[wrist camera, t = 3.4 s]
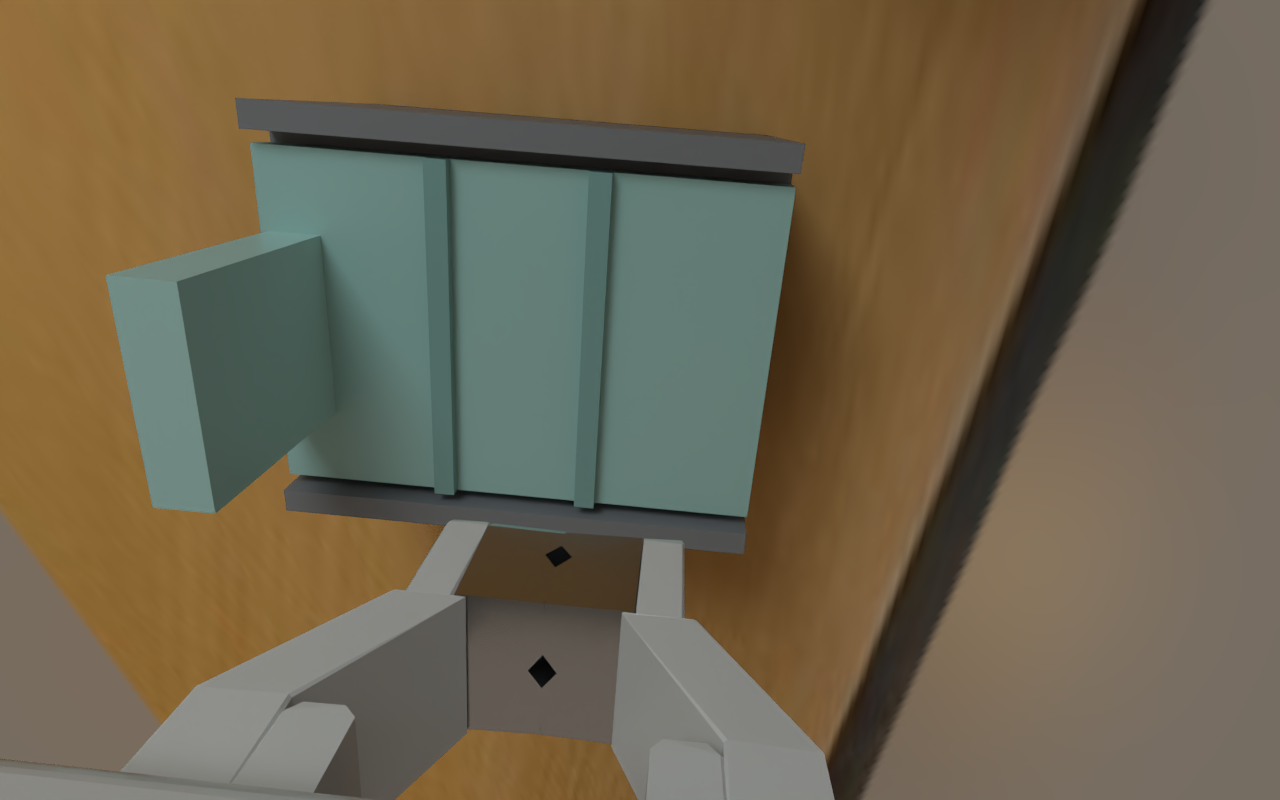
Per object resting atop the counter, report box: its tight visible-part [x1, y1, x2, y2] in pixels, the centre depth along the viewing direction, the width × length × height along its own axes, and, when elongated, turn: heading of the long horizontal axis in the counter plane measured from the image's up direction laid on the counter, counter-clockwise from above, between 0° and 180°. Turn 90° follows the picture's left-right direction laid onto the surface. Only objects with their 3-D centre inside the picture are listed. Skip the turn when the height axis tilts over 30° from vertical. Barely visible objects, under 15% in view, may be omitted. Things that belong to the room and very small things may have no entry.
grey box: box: [235, 98, 805, 554], centre depth 20 cm, size 10×12×7 cm
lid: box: [106, 142, 796, 517], centre depth 15 cm, size 8×12×6 cm
